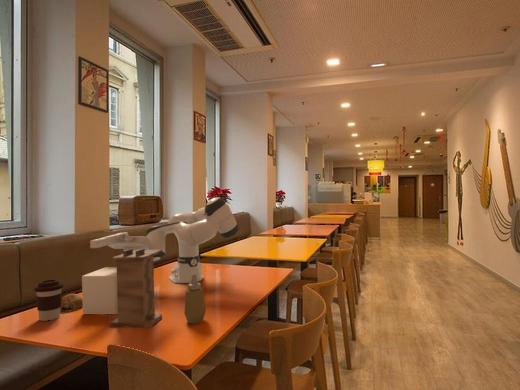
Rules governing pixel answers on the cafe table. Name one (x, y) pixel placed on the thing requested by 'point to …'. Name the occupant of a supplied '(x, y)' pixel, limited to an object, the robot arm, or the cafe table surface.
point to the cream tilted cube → (100, 291)
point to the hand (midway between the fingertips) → (120, 235)
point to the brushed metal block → (107, 240)
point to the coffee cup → (49, 299)
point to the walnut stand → (135, 289)
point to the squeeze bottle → (194, 302)
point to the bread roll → (71, 302)
